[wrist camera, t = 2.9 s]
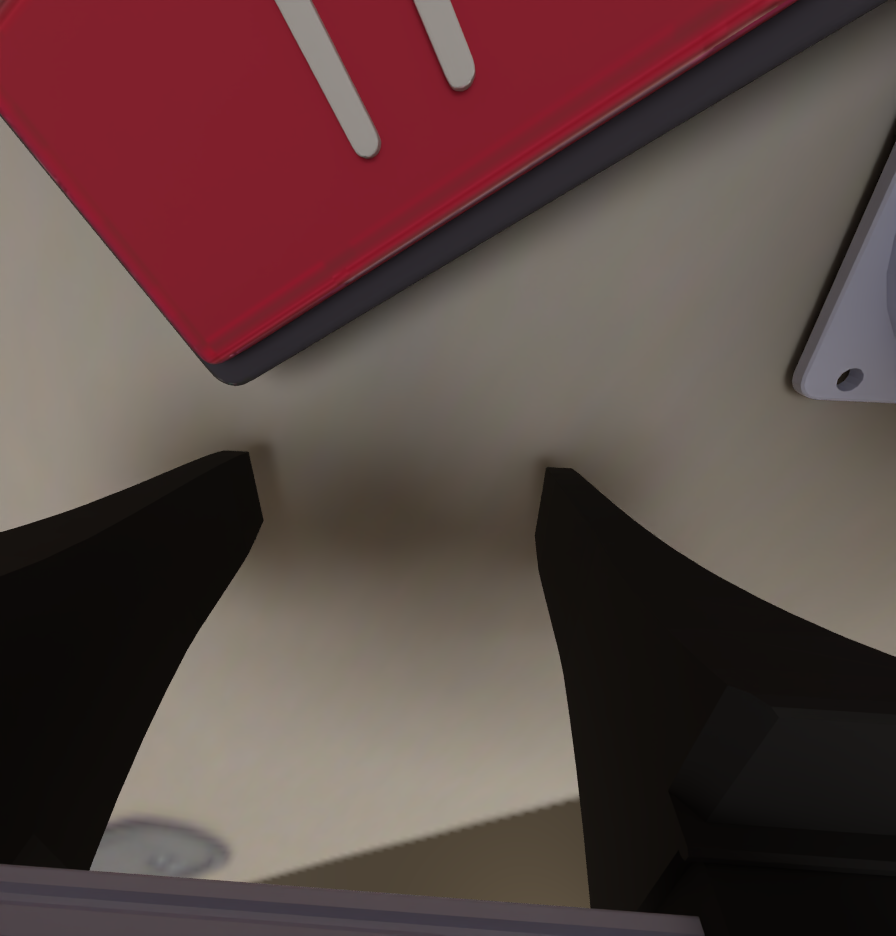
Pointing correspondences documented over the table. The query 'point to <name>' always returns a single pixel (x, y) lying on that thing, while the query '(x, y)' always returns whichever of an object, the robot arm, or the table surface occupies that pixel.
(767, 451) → the table surface
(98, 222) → the big button panel
